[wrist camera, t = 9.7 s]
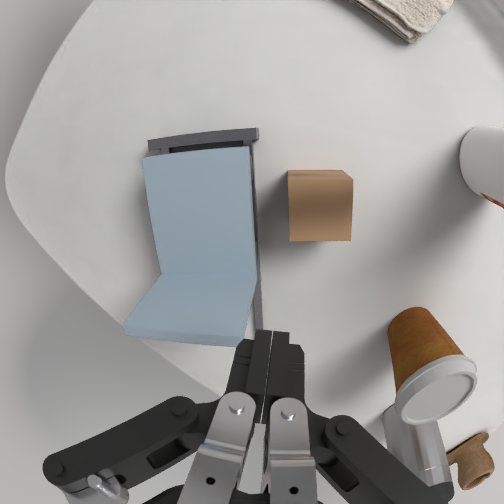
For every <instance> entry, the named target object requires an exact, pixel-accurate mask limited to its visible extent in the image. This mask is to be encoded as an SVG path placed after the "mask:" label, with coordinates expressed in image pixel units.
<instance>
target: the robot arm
mask: <svg viewBox="0 0 504 504" xmlns="http://www.w3.org/2000/svg"><path fill="white" fill-rule="evenodd" d="M271 337H272V331H270V330H261V329H256V334H255V339H254V340H250V339H243V340H242V341H241V342H240V343H239V344H238V345H237V347H236V351H235V356H234V360H233V364H232V368H231V372H230V376H229V380H228V384H227V388H226V391H225V393H224V395H223V396H222V397H221V398H220V399H218V400H216V401H214V402H210V403H201V404H195V403H194V402H193V401H192V400H191V399H189V398H187V397H183V396H176V397H172V398H170V399H168V400H166V401H164V402H162V403H160V404H158V405H157V406H155V407H153V408H151V409H149V410H147V411H145V412H143V413H141V414H139V415H138V416H136V417H134V418H132V419H130V420H128V421H126V422H124V423H122V424H120V425H117V426H115V427H113V428H111V429H109V430H107V431H105V432H103V433H101V434H98V435H96V436H94V437H92V438H90V439H88V440H85V441H83V442H80V443H78V444H76V445H73V446H71V447H69V448H66V449H64V450H61V451H59V452H56V453H54V454H51V455H49V456H48V457H47V458H46V459H45V460H44V463H43V473H44V475H45V477H46V479H47V480H48V481H49V482H51V483H52V484H53V485H55V486H57V487H58V488H59V489H60V490H62V492H63V493H64V494H65V496H66V498H67V500H68V502H69V504H127V503H128V500H129V493H128V489H130V488H132V487H134V486H136V485H138V484H140V483H142V482H144V481H146V480H148V479H150V478H151V477H153V476H155V475H157V474H159V473H161V472H162V471H164V470H166V469H168V468H169V467H171V466H173V465H175V464H176V463H178V462H180V461H181V460H183V459H185V458H186V457H188V456H189V455H191V454H193V453H194V452H196V451H197V453H196V456H195V459H194V461H193V464H192V466H191V469H190V471H189V474H188V477H187V479H186V482H185V484H183V485H179V486H175V487H172V488H170V489H167V490H165V491H163V492H162V493H160V494H159V495H157V496H155V497H153V498H152V499H150V500H148V501H147V502H145V503H143V504H323V503H322V502H320V501H318V500H317V483H316V469H317V470H318V471H319V473H320V474H321V475H322V476H323V477H324V478H325V479H326V480H327V481H328V482H329V483H330V484H331V485H332V487H334V489H335V490H336V491H337V492H339V494H340V495H341V496H342V497H343V498H344V499H345V500H346V501H347V502H348V503H349V504H448V502H449V501H450V500H451V499H452V498H453V496H454V487H453V482H452V478H451V473H450V468H449V464H448V460H447V456H446V452H445V448H444V444H443V441H442V437H441V433H440V430H439V427H438V423H437V420H435V421H433V422H429V423H425V424H416V425H413V424H408V423H406V422H404V421H403V420H402V418H401V416H400V415H398V414H397V413H396V411H395V408H394V405H393V406H391V407H390V408H389V409H388V410H386V412H385V413H384V415H383V417H382V420H383V426H384V431H385V437H386V443H387V449H386V448H384V447H383V446H382V445H381V444H380V443H379V442H378V441H377V440H376V439H375V438H374V437H373V436H372V435H370V434H369V433H368V432H367V431H366V430H365V429H364V428H363V427H362V426H361V425H360V424H359V423H358V422H357V421H356V420H355V419H353V418H351V417H349V416H346V415H338V416H335V417H333V418H331V419H329V418H326V417H323V416H319V415H317V414H315V413H313V412H312V411H311V410H310V409H309V408H308V407H307V406H306V404H305V399H304V352H303V350H302V348H301V347H300V345H296V344H289V332H280V331H273V338H272V345H271ZM270 346H271V351H270ZM269 355H270V358H269ZM268 364H269V366H268ZM267 372H268V375H267ZM266 380H267V383H266ZM265 389H266V391H265ZM264 396H265V399H264ZM263 402H264V407H263ZM262 408H263V415H262V422H261V423H262V424H266V431H265V436H264V447H263V472H262V482H261V493H260V494H247V493H244V492H241V491H239V490H238V488H239V484H240V480H241V476H242V472H243V468H244V464H245V460H246V457H247V452H248V449H249V445H250V441H251V438H252V436H253V434H254V427H255V423H260V419H261V413H262Z"/></svg>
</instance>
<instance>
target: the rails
mask: <svg viewBox="0 0 504 504" xmlns="http://www.w3.org/2000/svg"><path fill="white" fill-rule="evenodd" d="M257 139H259V128H247V129H233V130H221V131H211V132H202V133H193V134H186V135H178V136H171V137H165V138H158V139H152V140H148V149H149V151H150V150H156V149H161V152H162V155H163V154H170V153H171V147H178V146H186V145H194V144H204V143H214V142H226V141H240V140H243V147H245V146H249V154H250V155H251V156H252V161H253V181H252V182H251V186H252V202H253V218H254V235H255V241H257V245H258V263H257V267H256V268H257V282H256V286H255V291H254V295H253V297H254V312H255V326H256V329H261V330H263V318H262V298H261V279H260V260H259V242H258V224H257V206H256V189H255V172H254V155H253V140H257Z"/></svg>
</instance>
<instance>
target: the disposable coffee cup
mask: <svg viewBox="0 0 504 504" xmlns="http://www.w3.org/2000/svg"><path fill="white" fill-rule="evenodd" d="M388 339H389V344H390V351H391V358H392V364H393V371H394V379H395V386H396V398H395V403H394V408H395V411H396V413H397V414H398V415H400V416H401V418H402V420H403V421H404V422H406V423H408V424H413V425H416V424H425V423H429V422H433V421H435V420H438V419H440V418H442V417H444V416H446V415H448V414H450V413H451V412H453V411H454V410H456V409H457V408H458V407H459V406H461V405H462V404H463V403H464V402H465V401H466V400H467V399H468V398H469V397H470V396H471V394H472V393H473V391H474V389H475V387H476V384H477V376H476V372H477V368H476V364H475V363H474V362H473V360H472V359H469V358H468V357H466V356H465V355H464V354H463V353H462V351H461V350H460V349H459V348H458V346H457V345H456V344H455V342H454V341H453V340H452V339H451V337H450V336H449V335H448V334H447V332H446V331H445V330H444V329H443V328H442V326H441V325H440V324H439V323H438V322H437V320H435V318H434V317H433V316H432V314H431V313H430V312H429V311H428V310H427V309H425V308H422V307H413V308H410V309H407V310H405V311H403V312H402V313H400V314H399V315H398V316H397V317H395V319H394V320H393V321H392V322H391V324H390V326H389V328H388Z"/></svg>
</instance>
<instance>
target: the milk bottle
mask: <svg viewBox="0 0 504 504" xmlns="http://www.w3.org/2000/svg"><path fill="white" fill-rule="evenodd" d="M459 162H460V169H461V172H462V176H463V178H464V180H465V182H466V183H467V185H468V186H469V188H470V189H471V190H472V191H473V192H475V193H476V194H478V195H480V196H482V197H484V198H486V199H487V200H489V201H491V202H493V203H495V204H497V205H499V206H501V207H502V208H504V127H496V126H488V125H479V126H476V127H474V128H472V129H471V130H470V131H469V132H468V133H467V134H466V136H465V137H464V139H463V141H462V144H461V147H460V154H459Z"/></svg>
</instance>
